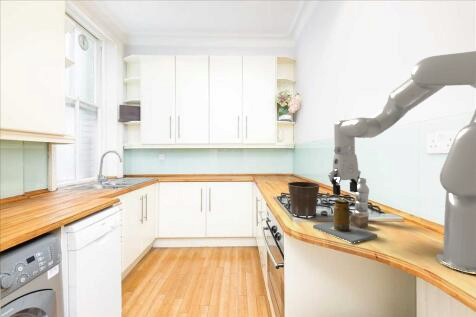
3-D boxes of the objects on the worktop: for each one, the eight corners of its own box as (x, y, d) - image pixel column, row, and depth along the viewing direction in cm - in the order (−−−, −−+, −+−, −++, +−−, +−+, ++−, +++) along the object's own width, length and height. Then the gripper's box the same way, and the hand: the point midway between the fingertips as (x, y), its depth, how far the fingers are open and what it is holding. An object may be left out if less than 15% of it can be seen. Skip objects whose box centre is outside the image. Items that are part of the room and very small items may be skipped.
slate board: (377, 237, 97) (377, 234, 97) (352, 244, 91) (352, 241, 90) (336, 222, 115) (336, 220, 115) (313, 227, 108) (313, 225, 108)
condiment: (338, 225, 108) (338, 197, 107) (357, 230, 101) (358, 201, 101) (329, 229, 103) (329, 200, 103) (349, 234, 97) (349, 204, 96)
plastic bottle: (353, 221, 116) (353, 179, 115) (353, 217, 122) (354, 177, 121) (368, 223, 113) (369, 179, 112) (368, 219, 119) (369, 178, 118)
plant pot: (326, 218, 122) (326, 185, 121) (296, 221, 118) (296, 187, 117) (309, 209, 138) (309, 180, 137) (282, 212, 134) (282, 182, 133)
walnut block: (367, 227, 109) (367, 216, 108) (359, 229, 106) (360, 217, 106) (357, 224, 113) (358, 213, 113) (350, 225, 111) (350, 214, 111)
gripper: (336, 152, 93) (337, 197, 94) (367, 150, 101) (367, 192, 102) (321, 152, 100) (322, 194, 101) (351, 150, 108) (352, 189, 108)
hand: (345, 193), depth 101 cm, fingers open, 9 cm apart
